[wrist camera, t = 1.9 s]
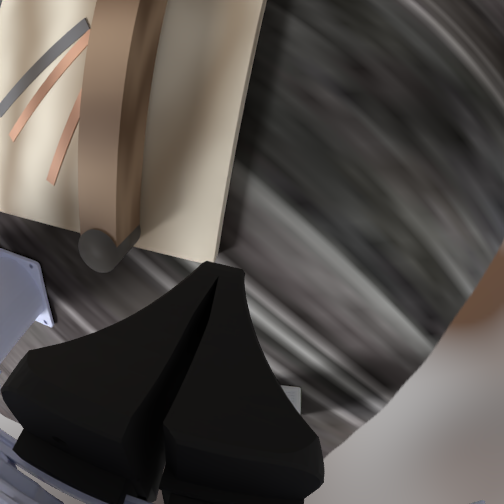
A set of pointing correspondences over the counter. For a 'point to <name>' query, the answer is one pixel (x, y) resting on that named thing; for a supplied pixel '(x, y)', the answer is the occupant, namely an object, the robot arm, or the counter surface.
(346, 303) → the counter surface
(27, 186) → the board
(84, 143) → the lever
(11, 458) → the robot arm
